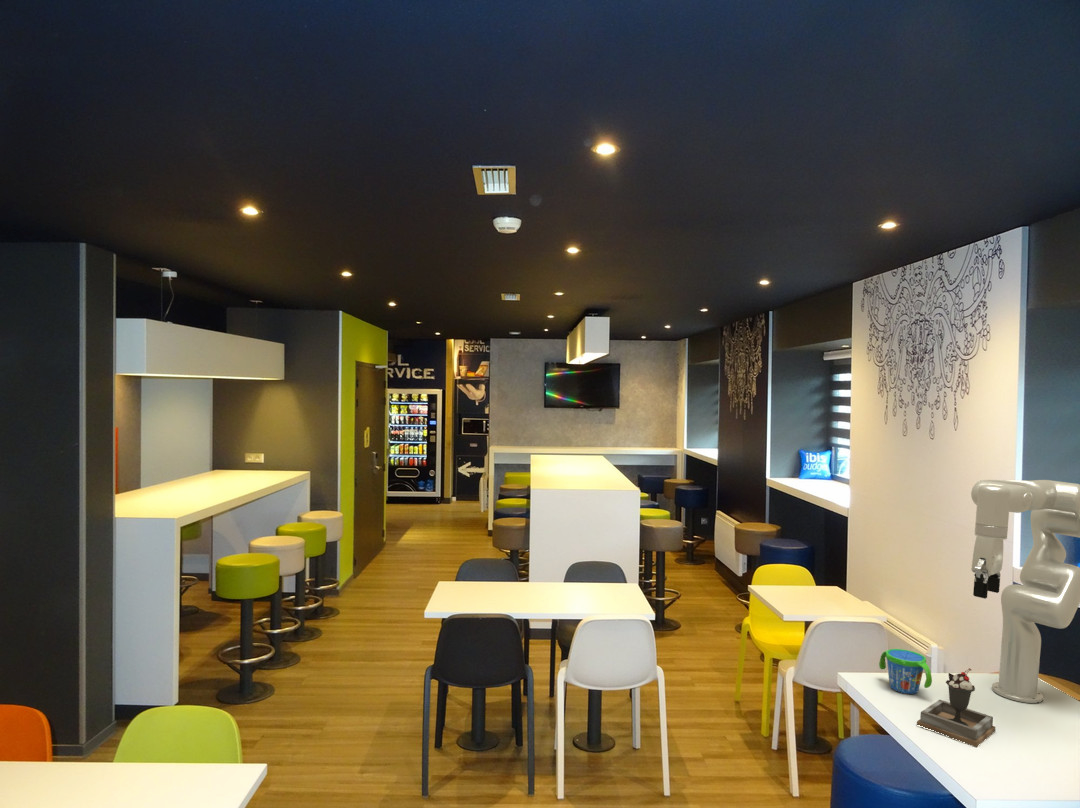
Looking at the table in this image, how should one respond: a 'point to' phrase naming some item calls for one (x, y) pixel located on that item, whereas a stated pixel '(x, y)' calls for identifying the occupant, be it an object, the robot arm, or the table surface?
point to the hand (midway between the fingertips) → (986, 594)
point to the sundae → (959, 693)
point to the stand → (971, 734)
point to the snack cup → (905, 670)
